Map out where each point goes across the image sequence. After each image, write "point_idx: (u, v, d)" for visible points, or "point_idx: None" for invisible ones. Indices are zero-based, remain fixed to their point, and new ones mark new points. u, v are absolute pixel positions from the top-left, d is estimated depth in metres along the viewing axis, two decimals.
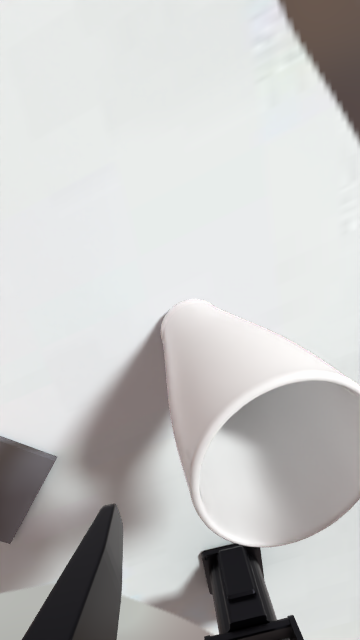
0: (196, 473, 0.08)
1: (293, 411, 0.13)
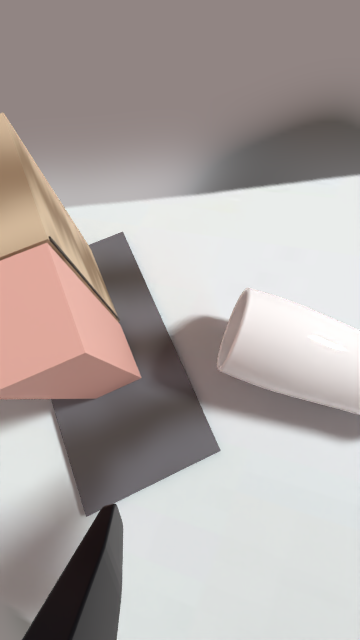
0: None
1: None
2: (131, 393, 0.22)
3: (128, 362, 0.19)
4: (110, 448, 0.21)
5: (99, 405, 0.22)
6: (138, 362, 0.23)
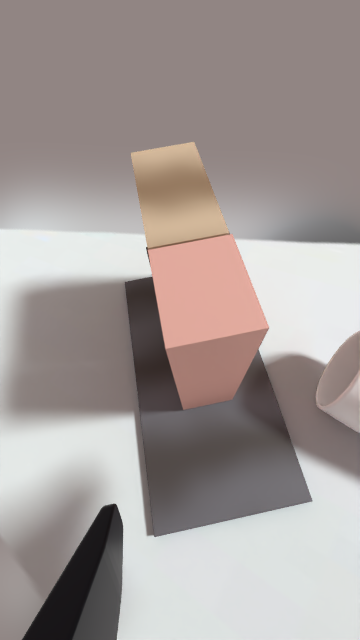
0: None
1: None
2: (218, 413, 0.22)
3: None
4: (190, 467, 0.20)
5: (184, 418, 0.22)
6: None
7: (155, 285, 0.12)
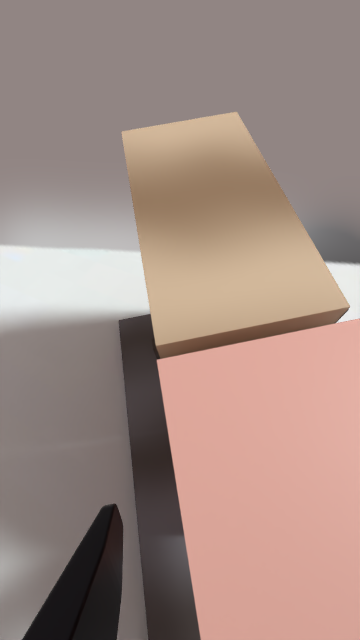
0: None
1: None
2: None
3: None
4: None
5: None
6: None
7: (181, 490, 0.04)
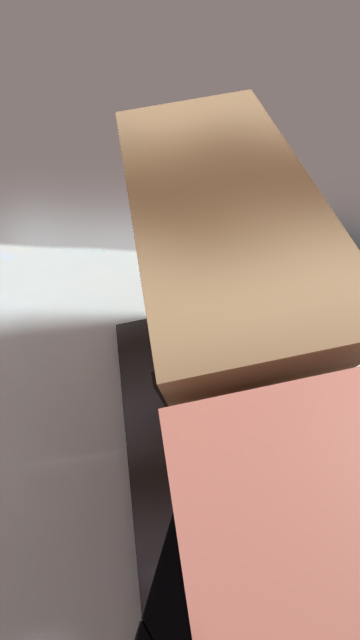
0: None
1: None
2: None
3: None
4: None
5: None
6: None
7: (195, 624, 0.03)
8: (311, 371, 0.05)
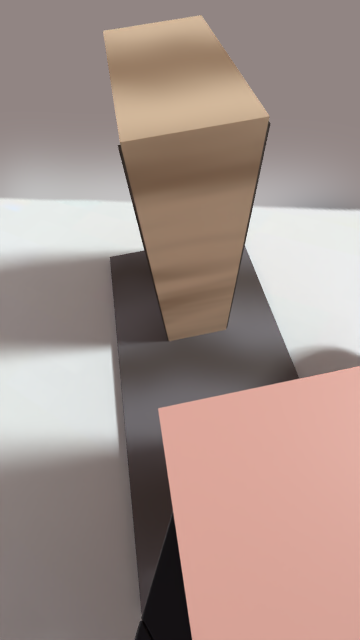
0: None
1: None
2: None
3: None
4: None
5: None
6: (246, 386, 0.17)
7: (196, 623, 0.03)
8: (223, 170, 0.08)
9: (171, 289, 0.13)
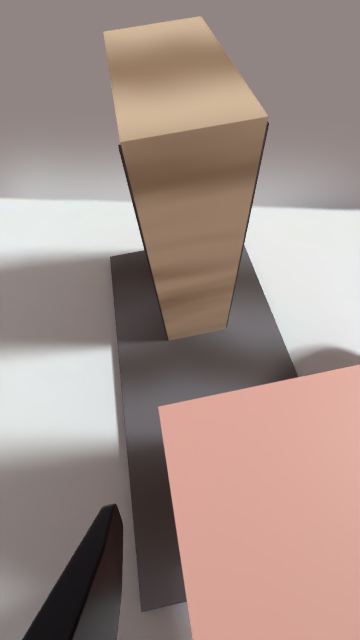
0: None
1: None
2: None
3: None
4: None
5: None
6: (245, 385, 0.17)
7: (195, 618, 0.03)
8: (223, 170, 0.08)
9: (171, 288, 0.13)
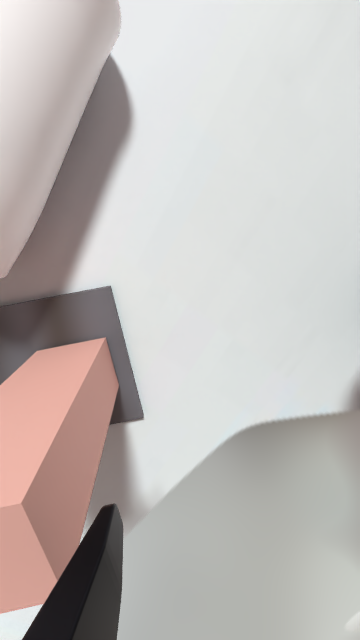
0: None
1: None
2: None
3: (79, 362, 0.16)
4: None
5: None
6: None
7: None
8: None
9: None
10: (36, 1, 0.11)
